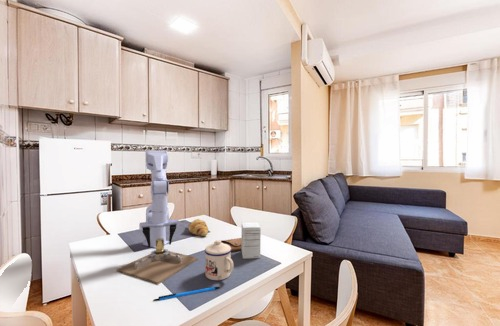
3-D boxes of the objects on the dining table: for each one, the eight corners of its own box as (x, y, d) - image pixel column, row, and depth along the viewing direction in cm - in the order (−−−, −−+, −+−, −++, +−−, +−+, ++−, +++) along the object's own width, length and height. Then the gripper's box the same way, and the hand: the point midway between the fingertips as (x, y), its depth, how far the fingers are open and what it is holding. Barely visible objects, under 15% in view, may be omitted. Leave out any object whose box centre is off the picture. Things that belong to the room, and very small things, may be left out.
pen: (153, 300, 65) (153, 296, 65) (220, 287, 71) (220, 284, 71) (153, 302, 64) (153, 298, 64) (220, 289, 71) (220, 285, 70)
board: (116, 270, 81) (116, 269, 81) (160, 250, 99) (160, 249, 99) (158, 284, 73) (158, 282, 73) (197, 259, 91) (197, 257, 91)
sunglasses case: (219, 255, 94) (216, 239, 97) (214, 258, 100) (212, 242, 103) (257, 248, 102) (254, 233, 105) (251, 251, 108) (248, 237, 111)
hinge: (129, 267, 83) (129, 261, 83) (160, 252, 95) (160, 247, 95) (158, 275, 77) (158, 269, 77) (187, 259, 89) (187, 253, 89)
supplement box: (241, 251, 99) (241, 222, 99) (258, 250, 99) (258, 221, 99) (242, 259, 91) (242, 227, 91) (260, 258, 92) (260, 227, 92)
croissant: (210, 243, 118) (217, 228, 120) (194, 237, 112) (201, 222, 114) (195, 231, 135) (201, 218, 137) (180, 226, 130) (186, 212, 132)
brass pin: (154, 257, 90) (154, 240, 90) (160, 255, 93) (159, 237, 93) (159, 259, 89) (159, 241, 89) (165, 256, 92) (165, 239, 92)
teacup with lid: (199, 274, 79) (199, 240, 79) (219, 265, 86) (220, 234, 85) (221, 288, 71) (221, 250, 70) (242, 277, 77) (242, 242, 77)
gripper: (138, 214, 85) (138, 251, 85) (179, 211, 90) (179, 246, 90) (140, 210, 91) (140, 244, 92) (178, 207, 96) (178, 240, 97)
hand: (159, 244), depth 91 cm, fingers open, 7 cm apart
